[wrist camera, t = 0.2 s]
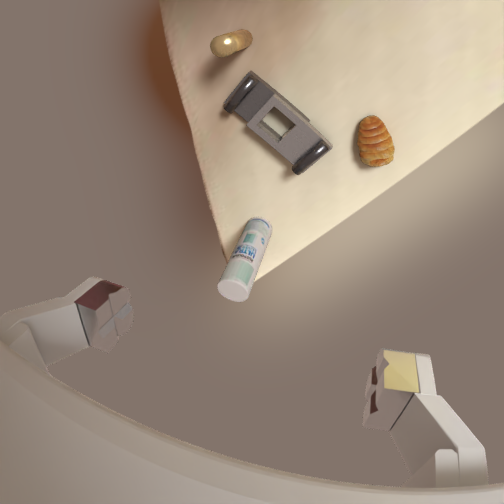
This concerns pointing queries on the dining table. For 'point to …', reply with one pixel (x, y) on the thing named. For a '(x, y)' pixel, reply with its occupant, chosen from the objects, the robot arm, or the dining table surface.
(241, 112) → the grey roller block
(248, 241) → the spray can
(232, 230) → the dining table surface
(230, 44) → the gold rounded cylinder
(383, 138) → the pastry
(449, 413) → the robot arm
